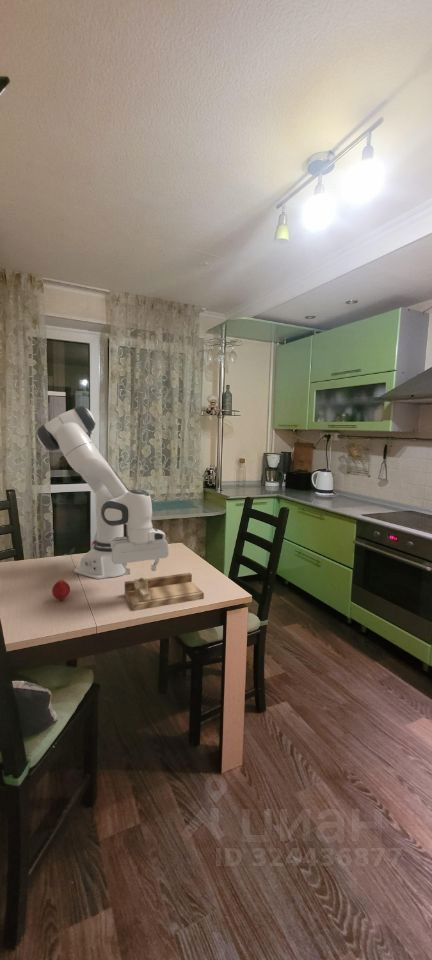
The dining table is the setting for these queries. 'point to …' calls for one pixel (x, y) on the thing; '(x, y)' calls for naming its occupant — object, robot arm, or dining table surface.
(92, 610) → the dining table surface
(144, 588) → the gauge
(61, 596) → the onion
